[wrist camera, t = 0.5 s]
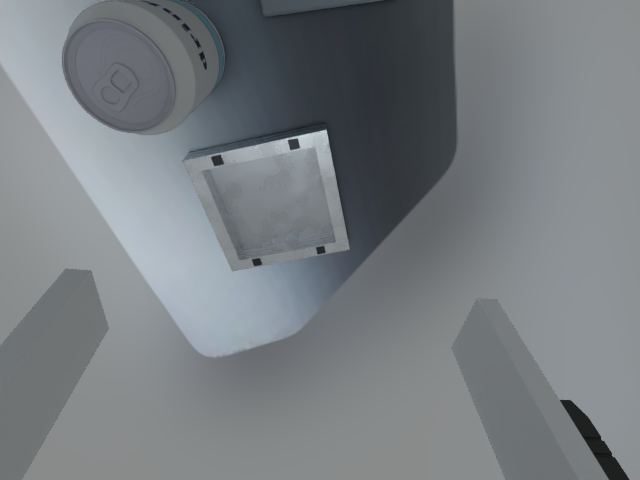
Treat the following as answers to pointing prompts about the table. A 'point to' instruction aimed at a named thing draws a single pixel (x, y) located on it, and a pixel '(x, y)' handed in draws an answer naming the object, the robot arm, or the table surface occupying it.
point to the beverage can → (142, 63)
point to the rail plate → (271, 197)
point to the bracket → (303, 5)
